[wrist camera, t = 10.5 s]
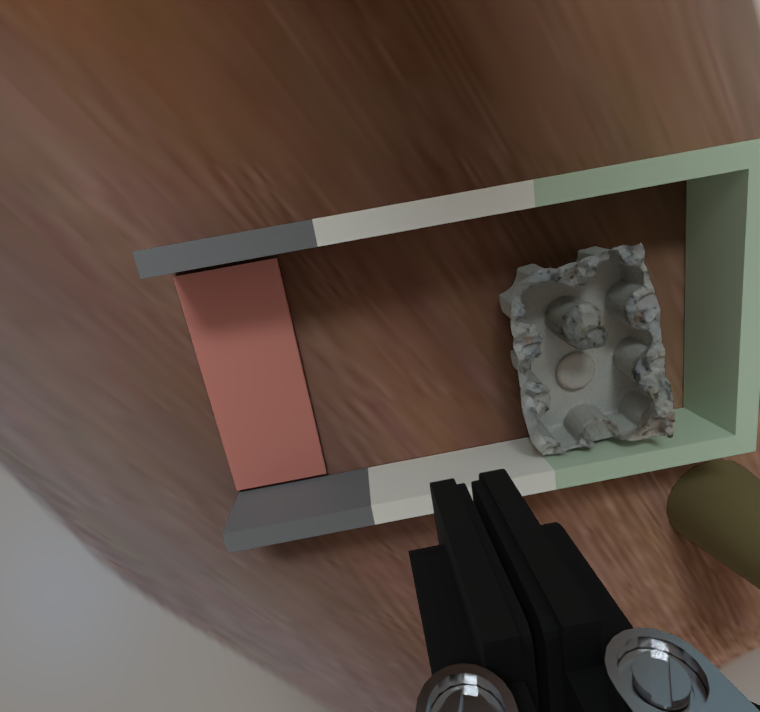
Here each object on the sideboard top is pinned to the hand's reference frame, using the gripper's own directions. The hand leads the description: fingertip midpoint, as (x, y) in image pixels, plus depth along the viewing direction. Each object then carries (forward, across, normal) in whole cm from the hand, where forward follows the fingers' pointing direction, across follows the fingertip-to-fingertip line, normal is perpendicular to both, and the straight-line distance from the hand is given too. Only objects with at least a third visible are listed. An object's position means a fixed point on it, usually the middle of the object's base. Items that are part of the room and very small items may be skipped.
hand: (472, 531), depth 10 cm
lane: (+17, -3, +1) cm, 17 cm away
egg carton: (+18, -12, +1) cm, 21 cm away
